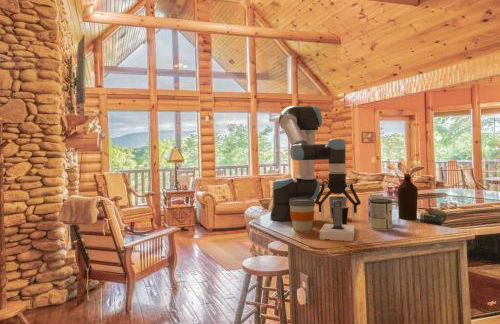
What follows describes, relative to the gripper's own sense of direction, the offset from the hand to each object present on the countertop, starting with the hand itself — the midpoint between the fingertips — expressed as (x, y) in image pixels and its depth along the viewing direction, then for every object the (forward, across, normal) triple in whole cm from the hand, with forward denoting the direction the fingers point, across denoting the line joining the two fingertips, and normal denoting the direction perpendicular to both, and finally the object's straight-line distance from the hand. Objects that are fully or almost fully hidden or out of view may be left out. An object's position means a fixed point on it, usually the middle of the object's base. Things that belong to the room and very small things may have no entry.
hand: (337, 219), depth 170 cm
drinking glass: (+7, -4, +49) cm, 50 cm away
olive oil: (+7, +34, +55) cm, 65 cm away
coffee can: (+7, +19, +21) cm, 29 cm away
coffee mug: (+7, -1, +24) cm, 25 cm away
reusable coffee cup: (+7, -18, +10) cm, 22 cm away
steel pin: (+7, 0, 0) cm, 7 cm away
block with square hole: (+7, 0, 0) cm, 7 cm away
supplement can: (+7, +17, +40) cm, 44 cm away
